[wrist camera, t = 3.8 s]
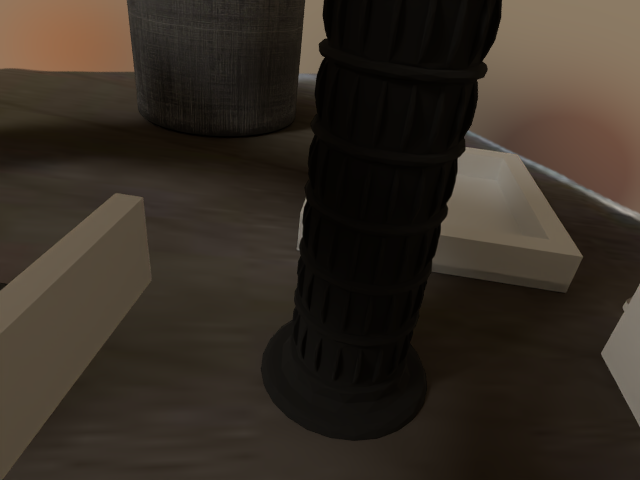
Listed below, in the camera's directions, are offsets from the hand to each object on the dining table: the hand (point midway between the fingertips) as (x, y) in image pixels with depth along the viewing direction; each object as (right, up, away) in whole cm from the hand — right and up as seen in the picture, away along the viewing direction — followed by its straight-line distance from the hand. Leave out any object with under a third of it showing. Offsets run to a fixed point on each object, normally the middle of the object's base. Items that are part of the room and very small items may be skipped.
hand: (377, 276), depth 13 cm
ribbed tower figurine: (0, -7, +16) cm, 18 cm away
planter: (-16, +19, +56) cm, 61 cm away
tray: (+9, +4, +35) cm, 37 cm away
